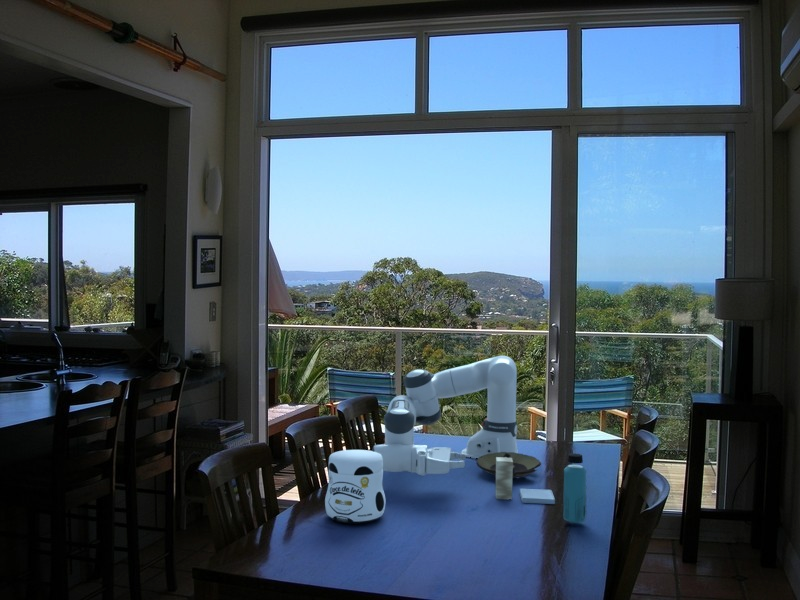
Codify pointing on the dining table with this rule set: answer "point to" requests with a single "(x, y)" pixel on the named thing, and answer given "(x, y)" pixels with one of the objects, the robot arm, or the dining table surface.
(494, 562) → the dining table surface
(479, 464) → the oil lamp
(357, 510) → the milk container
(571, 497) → the beverage bottle
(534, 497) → the white square slab
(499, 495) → the maple block
